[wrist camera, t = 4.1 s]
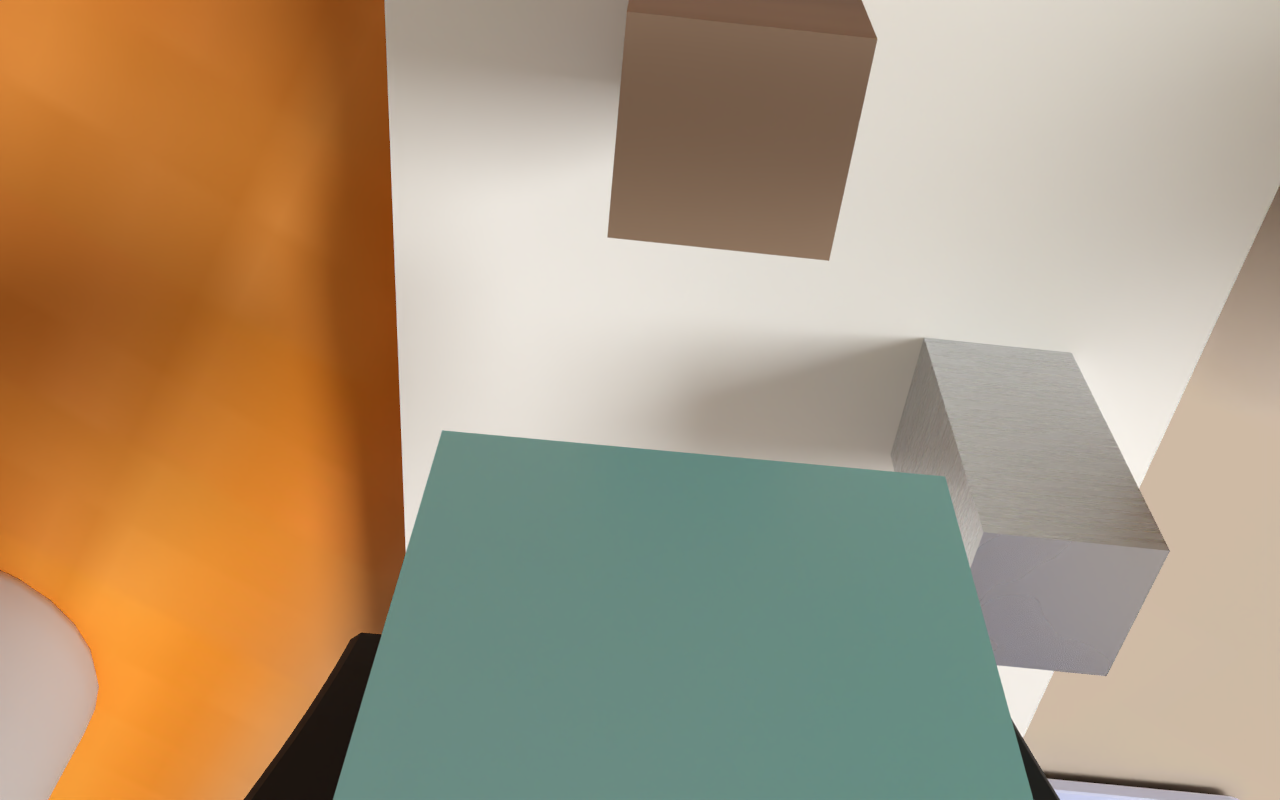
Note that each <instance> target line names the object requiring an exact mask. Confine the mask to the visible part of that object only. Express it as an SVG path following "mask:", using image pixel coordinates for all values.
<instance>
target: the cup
mask: <svg viewBox="0 0 1280 800" xmlns="http://www.w3.org/2000/svg"><path fill="white" fill-rule="evenodd" d="M98 688H99V686H98V681H97V676H96V671H95V667H94V663H93V659H92V655H91V651H90V648H89V647H88V645H87V643H86V642H85V640H84V639H83V637H82V635H81V634H80V632H79V631H78V629H77V628H76V626H75V624H74V623H73V622H72V621H71V620H70V619H69V618H68V617H67V616H66V615H65V614H64V613H63V612H62V611H61V610H60V609H59V608H58V607H57V606H56V605H55V604H54V603H53V602H52V601H50V600H49V599H48V598H46V597H45V596H43V595H42V594H40V593H39V592H37V591H36V590H34V589H33V588H31V587H30V586H28V585H27V584H25V583H24V582H22V581H21V580H19V579H17V578H15V577H13V576H11V575H9V574H7V573H5V572H2V571H0V800H48V799H49V797H50V795H51V793H52V791H53V790H54V788H55V786H56V784H57V782H58V780H59V779H60V777H61V775H62V773H63V771H64V769H65V768H66V766H67V764H68V762H69V760H70V758H71V757H72V755H73V753H74V751H75V749H76V747H77V745H78V744H79V742H80V740H81V738H82V736H83V734H84V732H85V730H86V728H87V726H88V724H89V721H90V719H91V717H92V715H93V712H94V710H95V706H96V700H97V694H98Z"/></svg>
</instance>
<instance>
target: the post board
mask: <svg viewBox="0 0 1280 800" xmlns="http://www.w3.org/2000/svg"><path fill="white" fill-rule="evenodd" d="M628 2H629V0H385V26H386V52H387V78H388V104H389V130H390V156H391V182H392V208H393V234H394V260H395V286H396V312H397V338H398V364H399V389H400V415H401V441H402V467H403V493H404V519H405V545H406V551H407V547H408V544H409V541H410V537H411V534H412V530H413V527H414V524H415V520H416V517H417V514H418V510H419V507H420V503H421V500H422V497H423V493H424V490H425V486H426V483H427V480H428V476H429V473H430V470H431V466H432V463H433V459H434V456H435V453H436V449H437V446H438V442H439V439H440V436H441V432H442V430H444V431H455V432H466V433H477V434H488V435H499V436H510V437H521V438H532V439H542V440H553V441H564V442H575V443H586V444H597V445H608V446H619V447H630V448H641V449H652V450H662V451H673V452H684V453H695V454H706V455H717V456H728V457H739V458H750V459H761V460H772V461H782V462H793V463H804V464H815V465H826V466H837V467H848V468H859V469H870V470H881V471H892V472H894V467H893V463H892V458H891V451H892V447H893V444H894V440H895V437H896V433H897V430H898V426H899V423H900V419H901V416H902V412H903V409H904V406H905V402H906V399H907V395H908V392H909V388H910V385H911V381H912V378H913V374H914V371H915V367H916V364H917V360H918V357H919V353H920V350H921V346H922V343H923V340H924V338H934V339H943V340H953V341H963V342H972V343H982V344H992V345H1001V346H1011V347H1021V348H1030V349H1040V350H1050V351H1059V352H1069V353H1072V354H1073V356H1074V358H1075V360H1076V363H1077V365H1078V367H1079V369H1080V371H1081V373H1082V375H1083V377H1084V379H1085V381H1086V383H1087V385H1088V387H1089V389H1090V391H1091V393H1092V395H1093V397H1094V399H1095V401H1096V403H1097V405H1098V407H1099V409H1100V411H1101V413H1102V415H1103V417H1104V419H1105V421H1106V423H1107V425H1108V427H1109V429H1110V431H1111V433H1112V435H1113V437H1114V439H1115V441H1116V443H1117V445H1118V447H1119V449H1120V451H1121V453H1122V455H1123V457H1124V459H1125V461H1126V463H1127V465H1128V467H1129V469H1130V471H1131V473H1132V475H1133V478H1134V480H1135V482H1136V484H1137V486H1138V488H1139V487H1140V485H1141V483H1142V481H1143V479H1144V476H1145V474H1146V472H1147V470H1148V468H1149V466H1150V464H1151V461H1152V459H1153V457H1154V455H1155V453H1156V451H1157V448H1158V446H1159V444H1160V442H1161V440H1162V438H1163V436H1164V433H1165V431H1166V429H1167V427H1168V425H1169V423H1170V420H1171V418H1172V416H1173V414H1174V412H1175V410H1176V408H1177V405H1178V403H1179V401H1180V399H1181V397H1182V395H1183V392H1184V390H1185V388H1186V386H1187V384H1188V382H1189V380H1190V377H1191V375H1192V373H1193V371H1194V369H1195V367H1196V364H1197V362H1198V360H1199V358H1200V356H1201V354H1202V352H1203V349H1204V347H1205V345H1206V343H1207V341H1208V339H1209V336H1210V334H1211V332H1212V330H1213V328H1214V326H1215V324H1216V321H1217V319H1218V317H1219V315H1220V313H1221V311H1222V309H1223V306H1224V304H1225V302H1226V300H1227V298H1228V296H1229V293H1230V291H1231V289H1232V287H1233V285H1234V283H1235V281H1236V278H1237V276H1238V274H1239V272H1240V270H1241V268H1242V265H1243V263H1244V261H1245V259H1246V257H1247V255H1248V253H1249V250H1250V248H1251V246H1252V244H1253V242H1254V240H1255V237H1256V235H1257V233H1258V231H1259V229H1260V227H1261V225H1262V222H1263V220H1264V218H1265V216H1266V214H1267V212H1268V209H1269V207H1270V205H1271V203H1272V201H1273V199H1274V197H1275V194H1276V192H1277V190H1278V188H1279V186H1280V0H862V2H863V5H864V7H865V9H866V12H867V14H868V17H869V19H870V22H871V24H872V27H873V29H874V31H875V34H876V36H877V44H876V48H875V53H874V57H873V62H872V66H871V71H870V76H869V80H868V85H867V89H866V94H865V98H864V103H863V108H862V112H861V117H860V121H859V126H858V130H857V135H856V140H855V144H854V149H853V153H852V158H851V163H850V167H849V172H848V176H847V181H846V185H845V190H844V195H843V199H842V204H841V208H840V213H839V217H838V222H837V227H836V231H835V236H834V240H833V245H832V249H831V254H830V259H829V261H827V260H817V259H808V258H798V257H789V256H779V255H769V254H760V253H750V252H741V251H731V250H722V249H712V248H702V247H693V246H683V245H674V244H664V243H655V242H645V241H636V240H626V239H616V238H607V235H608V223H609V212H610V200H611V188H612V177H613V165H614V154H615V142H616V130H617V119H618V107H619V96H620V84H621V72H622V61H623V49H624V37H625V26H626V14H627V7H628ZM997 668H998V672H999V676H1000V679H1001V683H1002V687H1003V690H1004V694H1005V698H1006V701H1007V705H1008V709H1009V712H1010V716H1011V719H1012V720H1013V722H1014V724H1015V726H1016V727H1017V729H1018V731H1019V732H1020V734H1021V736H1022V737H1024V735H1025V733H1026V731H1027V728H1028V726H1029V724H1030V722H1031V720H1032V718H1033V716H1034V713H1035V711H1036V709H1037V707H1038V705H1039V703H1040V700H1041V698H1042V696H1043V694H1044V692H1045V690H1046V688H1047V685H1048V683H1049V681H1050V679H1051V677H1052V675H1053V672H1054V671H1050V670H1040V669H1030V668H1019V667H1009V666H999V665H997Z"/></svg>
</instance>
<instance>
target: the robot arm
mask: <svg viewBox="0 0 1280 800" xmlns="http://www.w3.org/2000/svg"><path fill="white" fill-rule="evenodd" d="M380 639H381V634H370V633H360V634H358V635H357V636H355V637H354V638H352V639H351V640H350V642H349V643H348V645H347V647H346V649H345V650H344V652H343V654H342V656H341V657H340V659H339V661H338V663H337V664H336V666H335V668H334V669H333V671H332V672H331V674H330V676H329V677H328V679H327V681H326V682H325V684H324V685H323V687H322V689H321V690H320V692H319V693H318V695H317V696H316V698H315V699H314V701H313V703H312V704H311V706H310V707H309V709H308V710H307V712H306V713H305V715H304V716H303V718H302V719H301V721H300V722H299V723H298V725H297V726H296V728H295V729H294V731H293V732H292V734H291V735H290V737H289V738H288V740H287V741H286V742H285V744H284V745H283V747H282V748H281V750H280V751H279V752H278V754H277V755H276V757H275V758H274V759H273V761H272V762H271V763H270V765H269V766H268V767H267V769H266V770H265V771H264V773H263V774H262V776H261V777H260V778H259V780H258V781H257V782H256V784H255V785H254V786H253V788H252V789H251V790H250V792H249V793H248V795H247V796H246V797H245V799H244V800H333V798H334V794H335V791H336V788H337V784H338V781H339V777H340V774H341V771H342V767H343V764H344V760H345V757H346V754H347V750H348V747H349V744H350V740H351V737H352V733H353V730H354V727H355V723H356V720H357V717H358V713H359V710H360V706H361V703H362V700H363V696H364V693H365V689H366V686H367V683H368V679H369V676H370V673H371V669H372V666H373V662H374V659H375V656H376V652H377V649H378V645H379V642H380ZM1011 720H1012V719H1011ZM1012 723H1013V727H1014V731H1015V734H1016V738H1017V742H1018V745H1019V749H1020V753H1021V756H1022V760H1023V764H1024V767H1025V771H1026V775H1027V778H1028V782H1029V786H1030V789H1031V793H1032V796H1033V800H1239V799H1237V798H1235V797H1231V796H1225V795H1215V794H1204V793H1194V792H1183V791H1173V790H1163V789H1152V788H1142V787H1131V786H1121V785H1110V784H1100V783H1089V782H1079V781H1068V780H1058V779H1048V778H1046V776H1045V774H1044V773H1043V771H1042V769H1041V768H1040V766H1039V764H1038V763H1037V761H1036V759H1035V758H1034V756H1033V754H1032V753H1031V751H1030V749H1029V748H1028V746H1027V744H1026V743H1025V741H1024V739H1023V737H1022V736H1021V734H1020V732H1019V731H1018V729H1017V727H1016V726H1015V724H1014V722H1013V720H1012Z"/></svg>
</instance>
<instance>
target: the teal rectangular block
mask: <svg viewBox="0 0 1280 800" xmlns="http://www.w3.org/2000/svg"><path fill="white" fill-rule="evenodd" d="M333 800H1033V796H1032V793H1031V789H1030V786H1029V782H1028V778H1027V775H1026V771H1025V767H1024V764H1023V760H1022V756H1021V753H1020V749H1019V745H1018V742H1017V738H1016V734H1015V731H1014V727H1013V723H1012V720H1011V716H1010V712H1009V709H1008V705H1007V701H1006V698H1005V694H1004V690H1003V687H1002V683H1001V679H1000V676H999V672H998V668H997V665H996V661H995V657H994V654H993V650H992V646H991V643H990V639H989V635H988V632H987V628H986V624H985V621H984V617H983V613H982V610H981V606H980V602H979V599H978V595H977V591H976V588H975V584H974V580H973V577H972V573H971V569H970V566H969V562H968V558H967V555H966V551H965V547H964V544H963V540H962V536H961V533H960V529H959V525H958V522H957V518H956V514H955V511H954V507H953V503H952V500H951V496H950V492H949V489H948V485H947V481H946V478H945V476H935V475H924V474H913V473H902V472H892V471H881V470H870V469H859V468H848V467H837V466H826V465H815V464H804V463H793V462H782V461H772V460H761V459H750V458H739V457H728V456H717V455H706V454H695V453H684V452H673V451H662V450H652V449H641V448H630V447H619V446H608V445H597V444H586V443H575V442H564V441H553V440H542V439H532V438H521V437H510V436H499V435H488V434H477V433H466V432H455V431H444V430H442V432H441V436H440V439H439V442H438V446H437V449H436V453H435V456H434V459H433V463H432V466H431V470H430V473H429V476H428V480H427V483H426V486H425V490H424V493H423V497H422V500H421V503H420V507H419V510H418V514H417V517H416V520H415V524H414V527H413V530H412V534H411V537H410V541H409V544H408V547H407V551H406V554H405V558H404V561H403V564H402V568H401V571H400V574H399V578H398V581H397V585H396V588H395V591H394V595H393V598H392V601H391V605H390V608H389V612H388V615H387V618H386V622H385V625H384V629H383V632H382V635H381V639H380V642H379V645H378V649H377V652H376V656H375V659H374V662H373V666H372V669H371V673H370V676H369V679H368V683H367V686H366V689H365V693H364V696H363V700H362V703H361V706H360V710H359V713H358V717H357V720H356V723H355V727H354V730H353V733H352V737H351V740H350V744H349V747H348V750H347V754H346V757H345V760H344V764H343V767H342V771H341V774H340V777H339V781H338V784H337V788H336V791H335V794H334V798H333Z"/></svg>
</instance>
